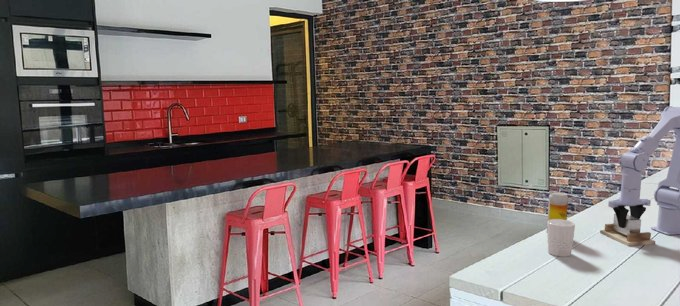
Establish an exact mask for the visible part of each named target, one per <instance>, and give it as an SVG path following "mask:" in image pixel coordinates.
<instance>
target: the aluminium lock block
mask: <svg viewBox="0 0 680 306" xmlns="http://www.w3.org/2000/svg"><path fill="white" fill-rule="evenodd" d="M612 224H613V230H615V231H618V232H620V233H622V234H625V235H627V234H628V233H641V228H642V227H641V226H642V219H641V218H640V219H638V218H635V217H632V216H631V215H630V214H627V217H626V223H625V227H624V228H621V227H619V225H618V220H617V216H616V214H615V213H614V214H613V223H612Z"/></svg>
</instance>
